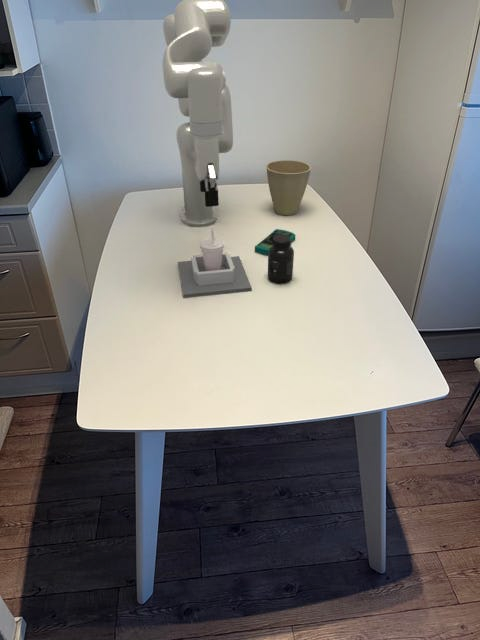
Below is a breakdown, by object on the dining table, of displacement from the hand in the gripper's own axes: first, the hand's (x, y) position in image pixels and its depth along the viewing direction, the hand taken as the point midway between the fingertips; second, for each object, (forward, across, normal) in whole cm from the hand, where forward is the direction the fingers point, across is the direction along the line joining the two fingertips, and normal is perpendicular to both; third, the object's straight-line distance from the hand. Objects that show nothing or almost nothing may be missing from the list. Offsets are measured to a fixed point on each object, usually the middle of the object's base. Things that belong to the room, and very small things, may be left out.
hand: (209, 198), depth 123 cm
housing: (+22, +1, 0) cm, 22 cm away
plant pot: (+23, -40, +32) cm, 56 cm away
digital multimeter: (+23, -14, +22) cm, 35 cm away
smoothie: (+22, +2, 0) cm, 22 cm away
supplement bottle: (+22, +5, +18) cm, 29 cm away
